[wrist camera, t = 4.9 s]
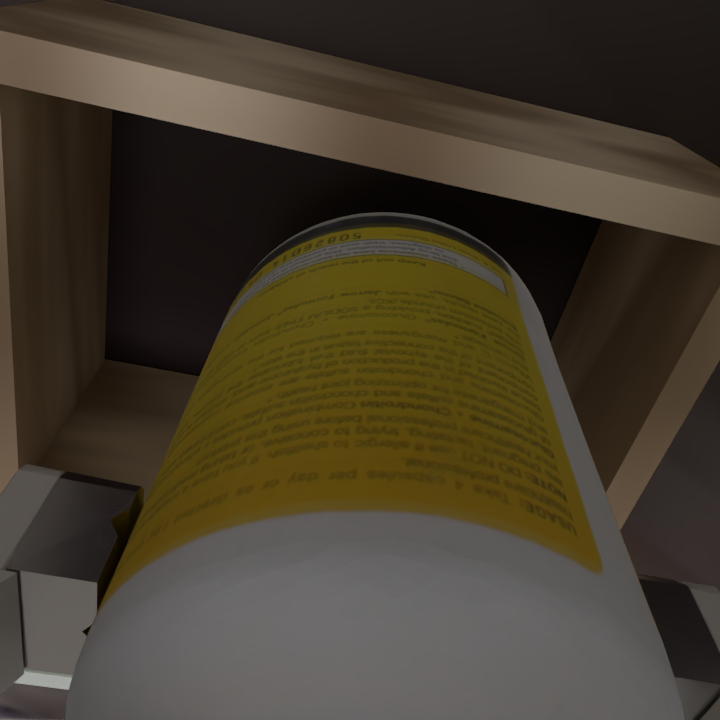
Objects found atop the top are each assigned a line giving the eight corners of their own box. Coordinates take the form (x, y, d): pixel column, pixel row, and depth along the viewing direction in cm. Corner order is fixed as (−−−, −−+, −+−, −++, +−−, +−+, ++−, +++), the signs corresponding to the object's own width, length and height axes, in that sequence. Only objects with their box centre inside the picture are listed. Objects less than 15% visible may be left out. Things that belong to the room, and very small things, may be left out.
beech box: (669, 137, 17) (803, 217, 12) (526, 456, 22) (575, 605, 17) (80, -6, 15) (-59, 16, 10) (77, 375, 21) (-15, 514, 16)
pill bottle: (178, 249, 13) (-475, 1198, 3) (511, 156, 12) (1043, 1256, 2) (293, 489, 16) (134, 1322, 7) (563, 436, 15) (864, 1375, 5)
